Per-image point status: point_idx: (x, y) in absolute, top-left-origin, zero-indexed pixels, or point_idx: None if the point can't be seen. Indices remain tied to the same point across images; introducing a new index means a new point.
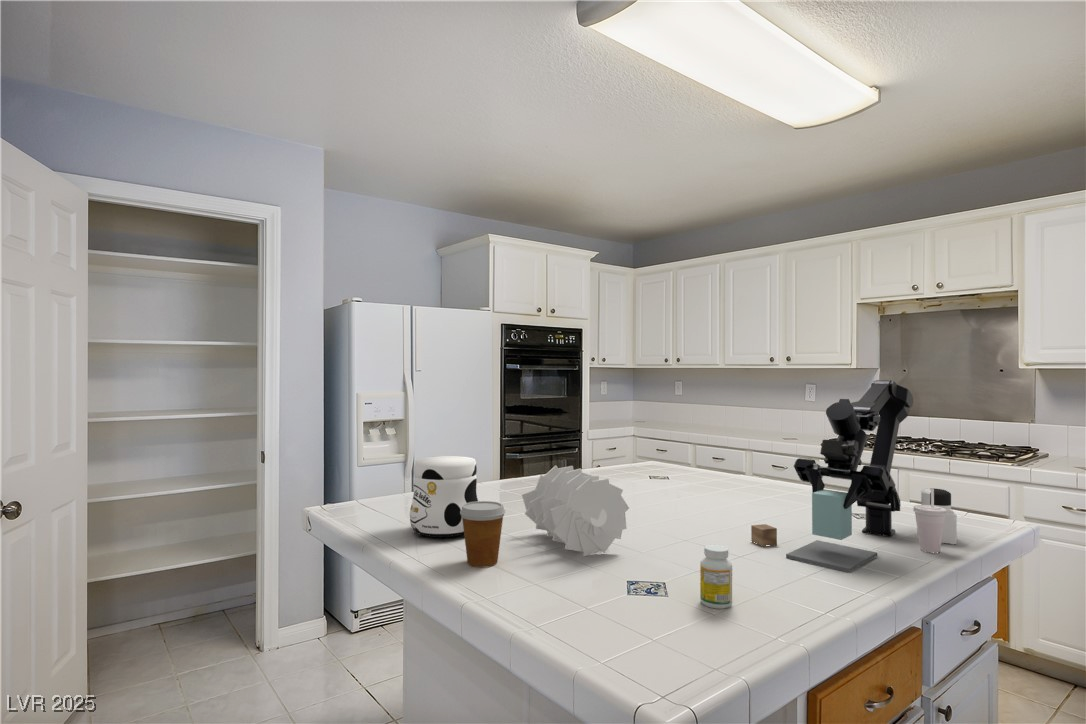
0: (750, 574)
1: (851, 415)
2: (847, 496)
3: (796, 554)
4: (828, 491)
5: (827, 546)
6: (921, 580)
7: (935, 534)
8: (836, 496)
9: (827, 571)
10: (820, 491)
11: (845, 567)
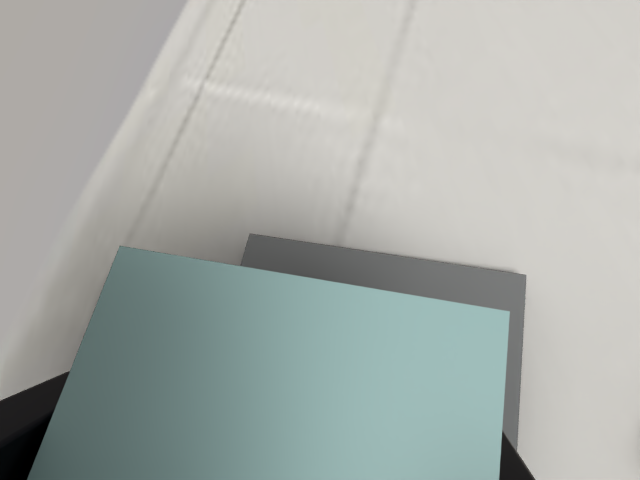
0: (536, 23)
1: None
2: (38, 409)
3: (484, 300)
4: None
5: None
6: (33, 308)
7: None
8: (167, 265)
9: (326, 207)
10: None
11: (264, 240)
